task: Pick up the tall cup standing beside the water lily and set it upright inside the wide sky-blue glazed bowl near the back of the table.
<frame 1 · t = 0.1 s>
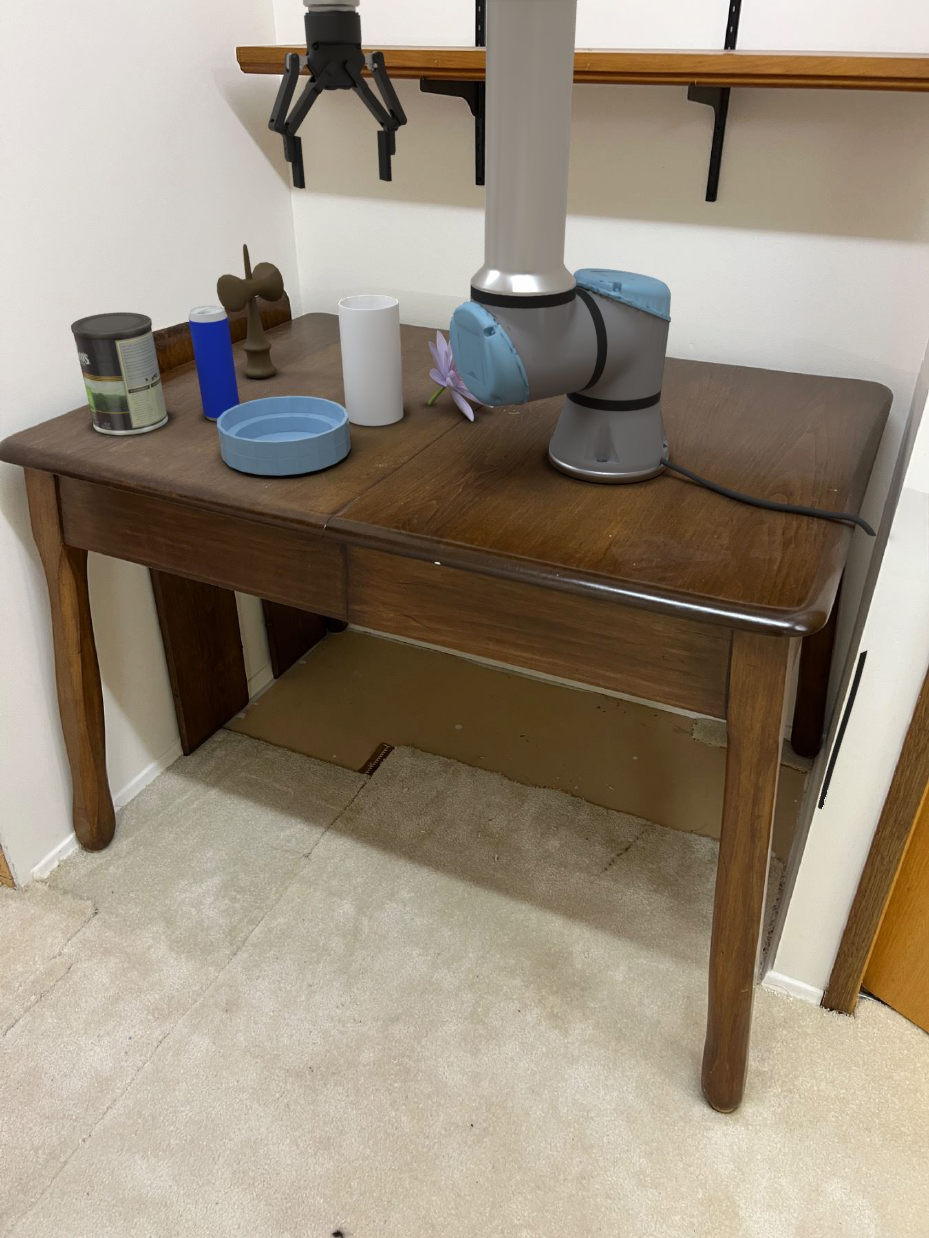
hand: (343, 184, 136), 28 cm above the table, tool pointing down, fingers open, 13 cm apart
beverage can: (223, 417, 135), on the table
coffee can: (132, 424, 133), on the table
water lily: (461, 410, 137), on the table
kendama: (261, 376, 151), on the table
bowl: (287, 454, 123), on the table
cup: (374, 417, 135), on the table
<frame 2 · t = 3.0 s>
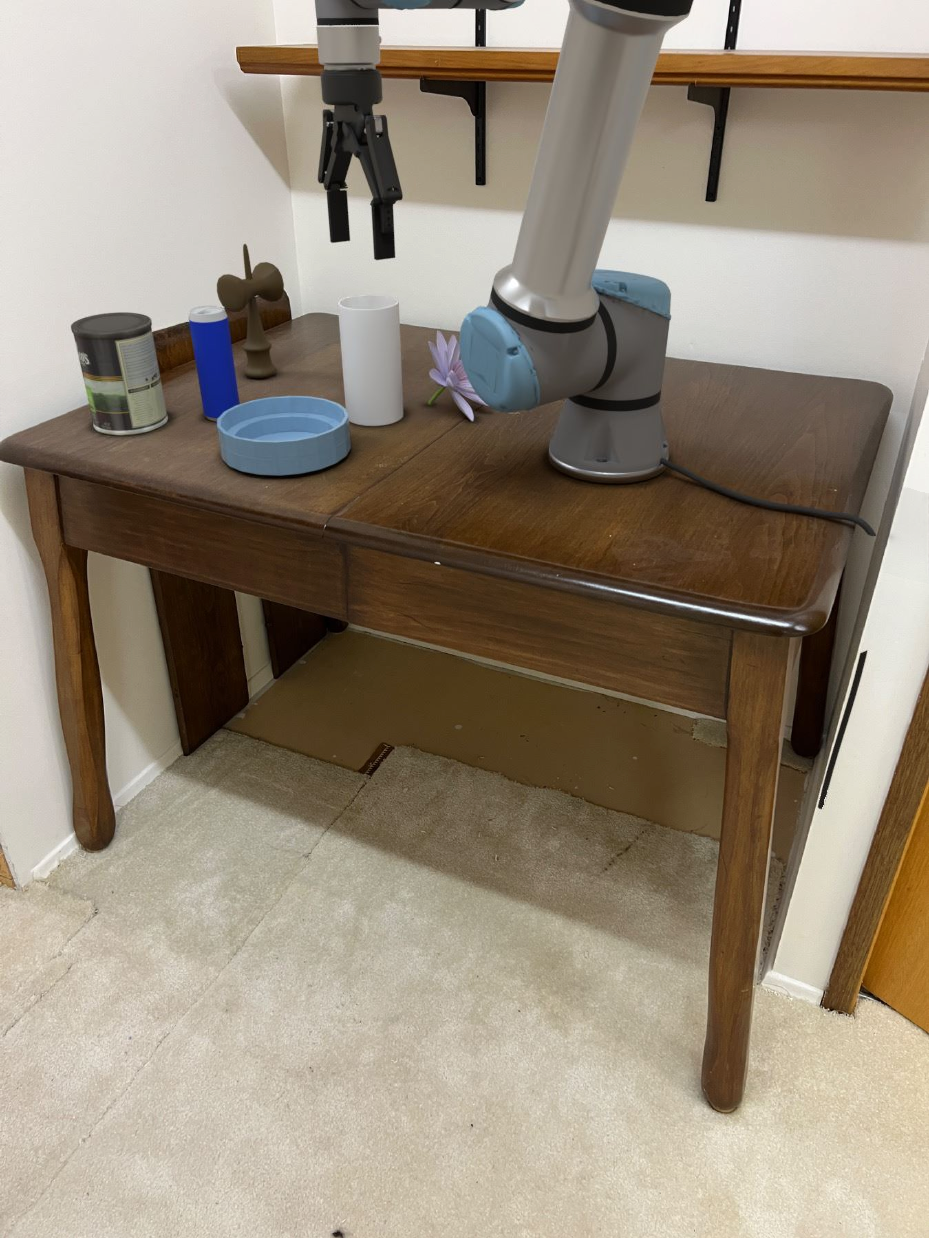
hand: (361, 250, 127), 22 cm above the table, tool pointing down, fingers open, 13 cm apart
nothing on the table moved.
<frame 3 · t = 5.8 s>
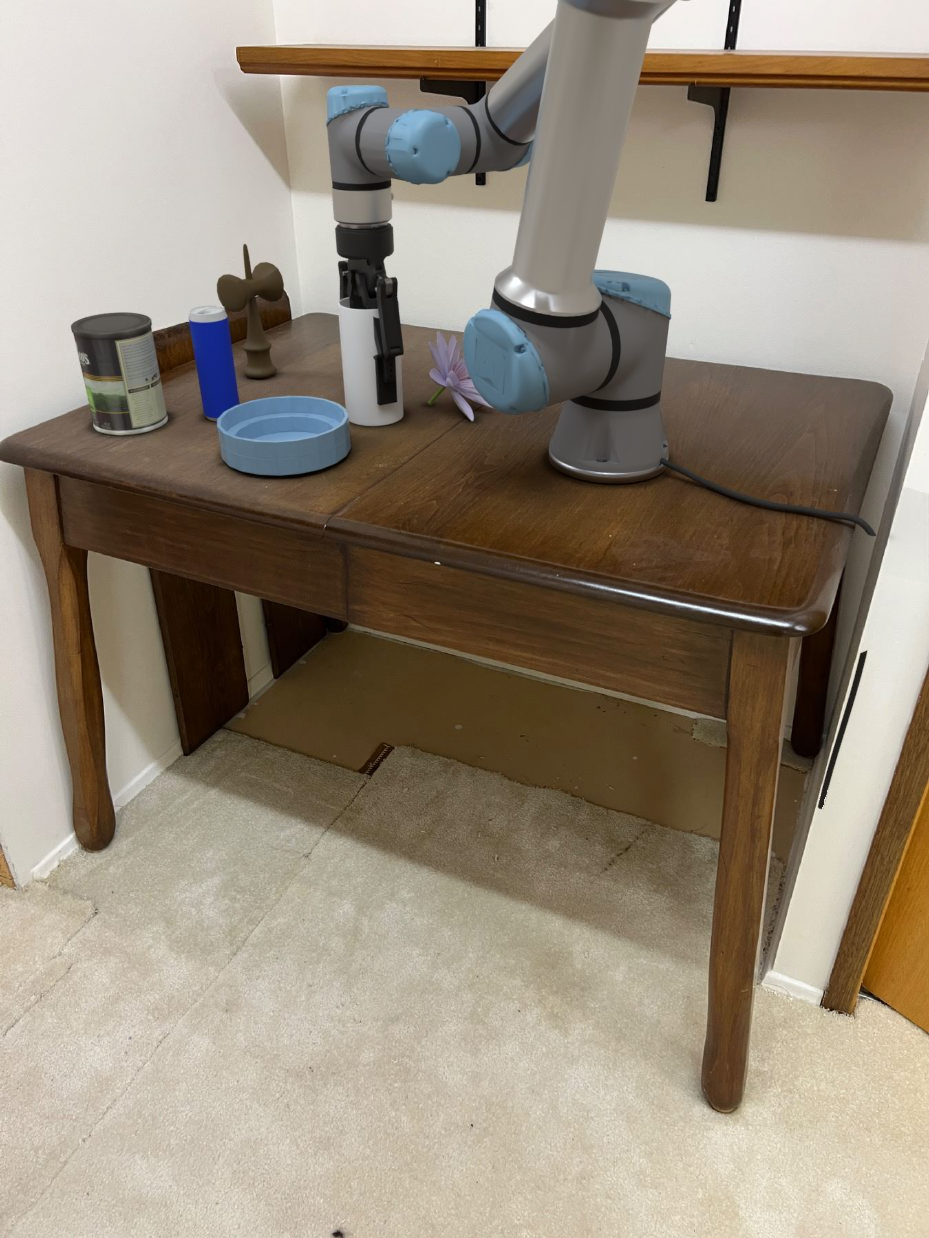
hand: (373, 393, 133), 3 cm above the table, tool pointing down, fingers closed on cup, 8 cm apart
cup: (375, 417, 135), on the table, touching gripper
everything else where it was.
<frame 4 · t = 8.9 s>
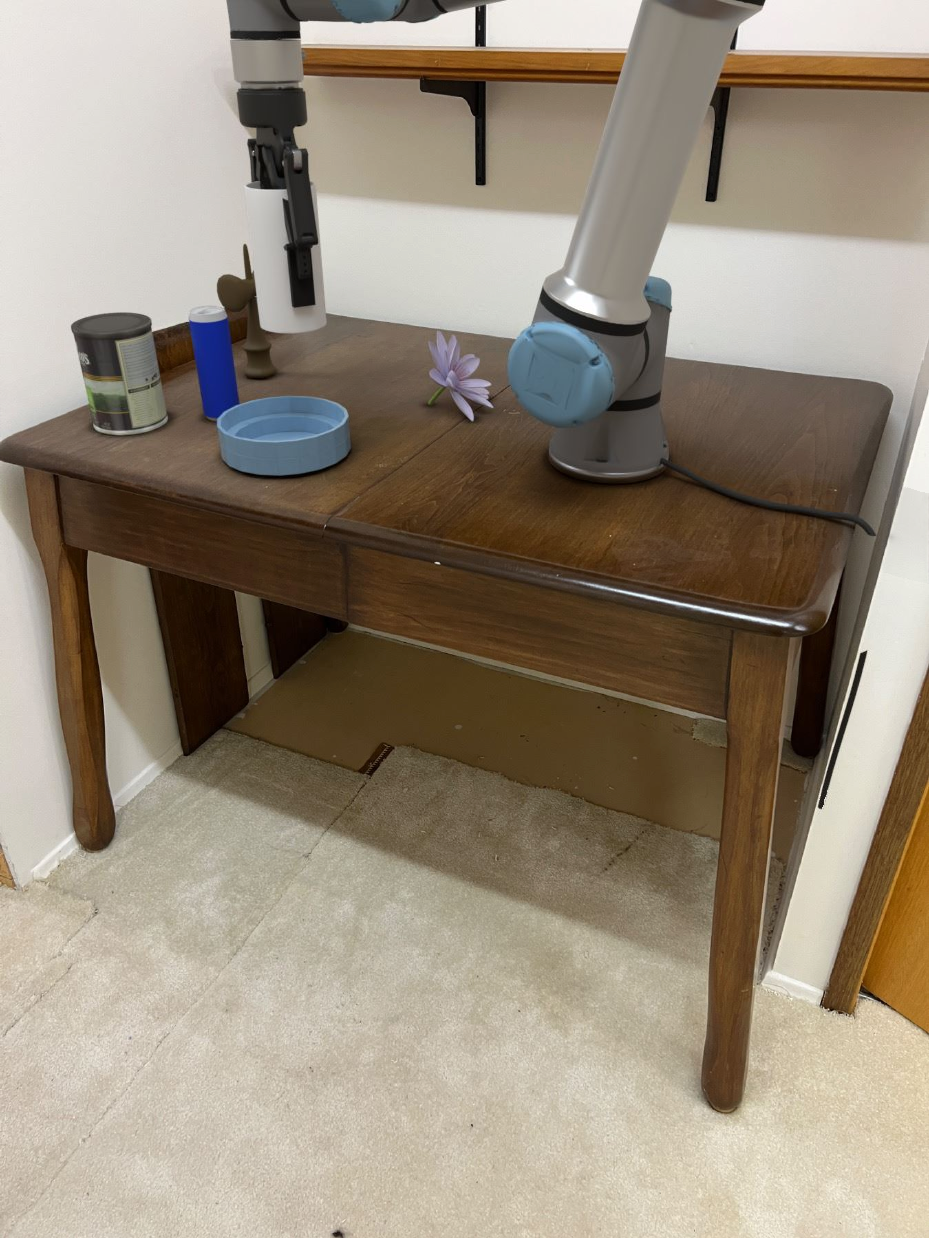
hand: (290, 297, 115), 19 cm above the table, tool pointing down, fingers closed on cup, 8 cm apart
cup: (293, 326, 117), point 16 cm above the table, touching gripper
everything else where it was.
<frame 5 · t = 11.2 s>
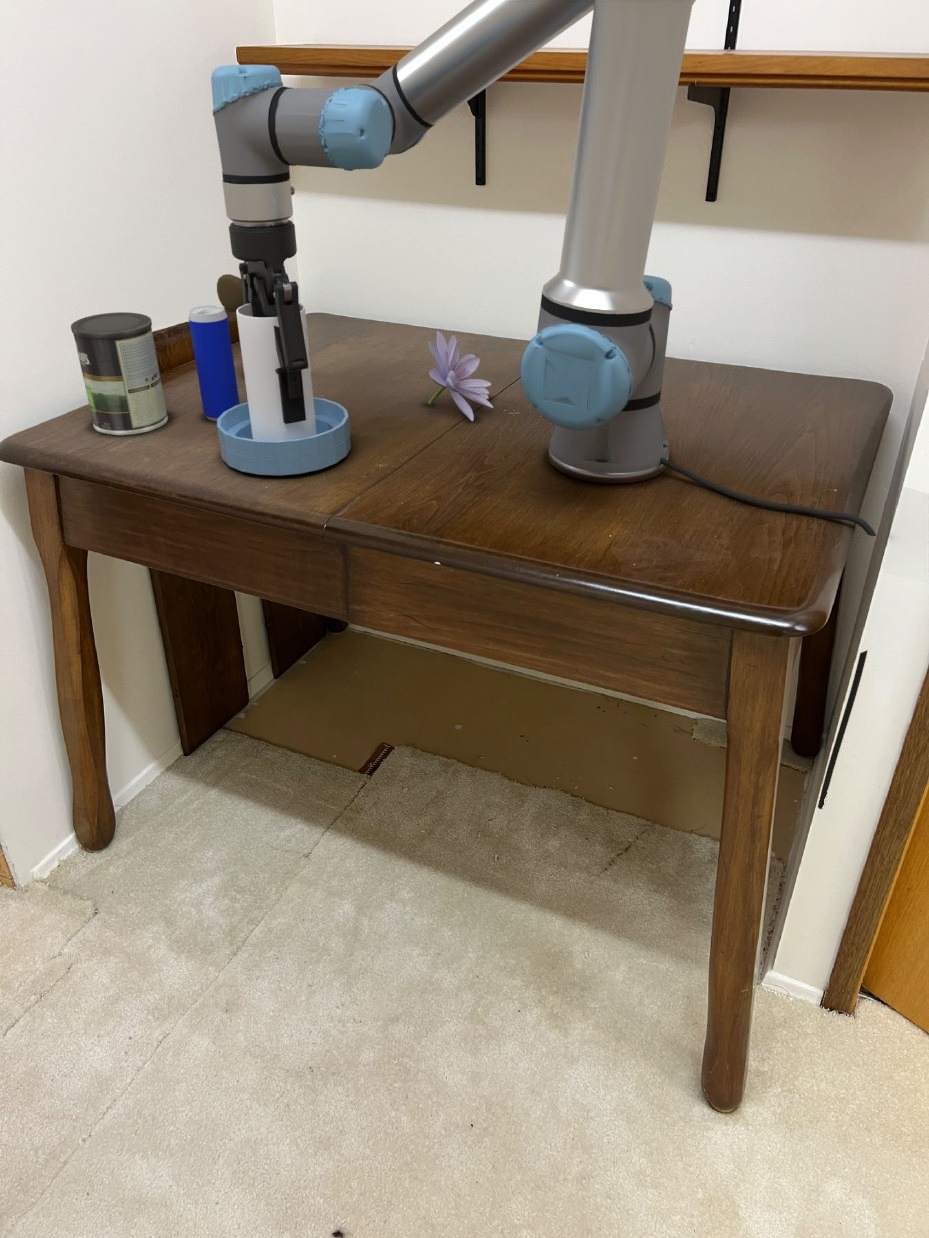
hand: (282, 410, 120), 6 cm above the table, tool pointing down, fingers closed on cup, 8 cm apart
cup: (284, 436, 122), point 2 cm above the table, touching gripper
everything else where it was.
when the fingers open (4 cm above the table, at t = 12.4 s): cup stays where it is, resting on bowl.
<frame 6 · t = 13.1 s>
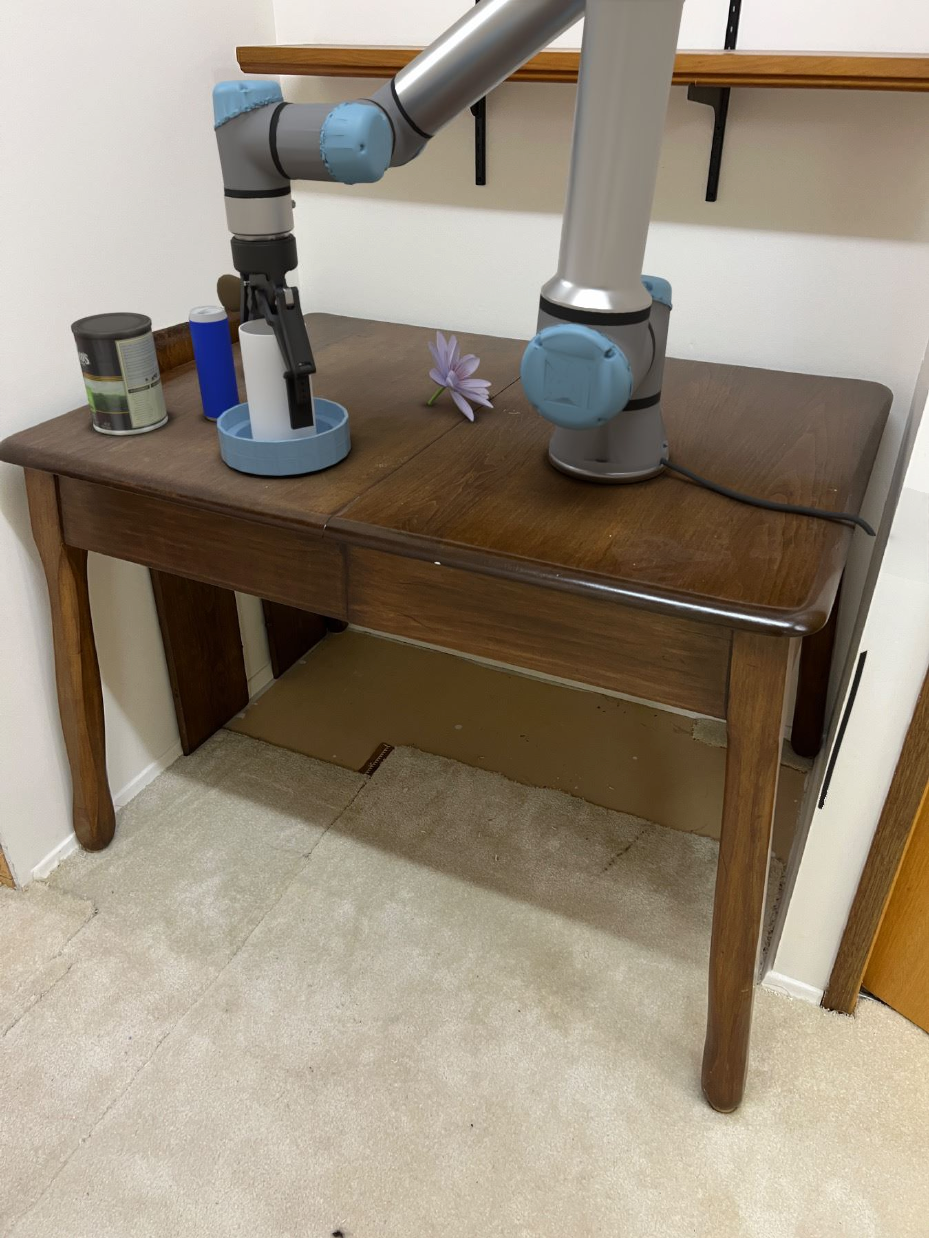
hand: (282, 410, 120), 6 cm above the table, tool pointing down, fingers open, 13 cm apart
cup: (286, 451, 123), resting on bowl
everything else where it was.
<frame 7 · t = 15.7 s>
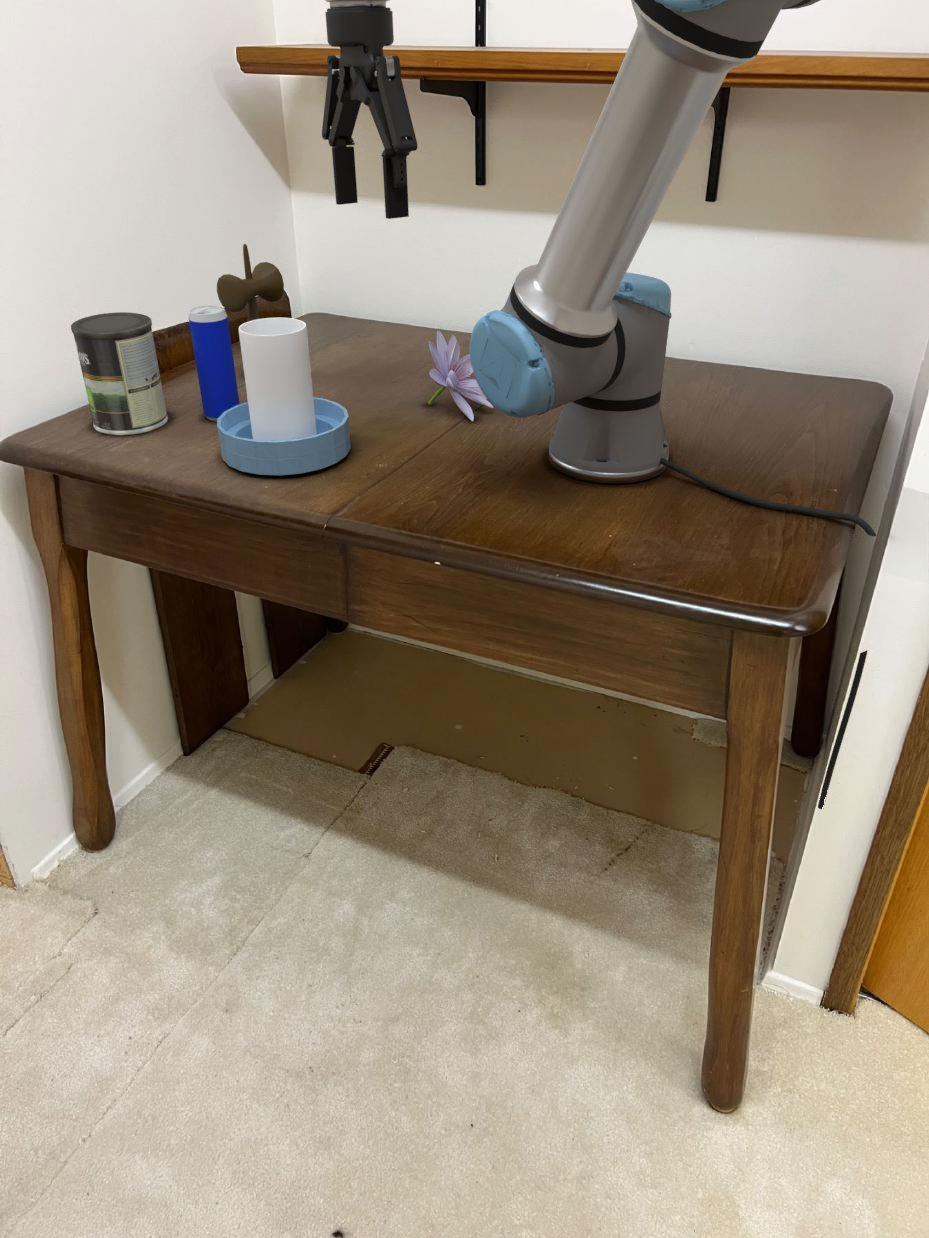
hand: (371, 210, 116), 28 cm above the table, tool pointing down, fingers open, 13 cm apart
nothing on the table moved.
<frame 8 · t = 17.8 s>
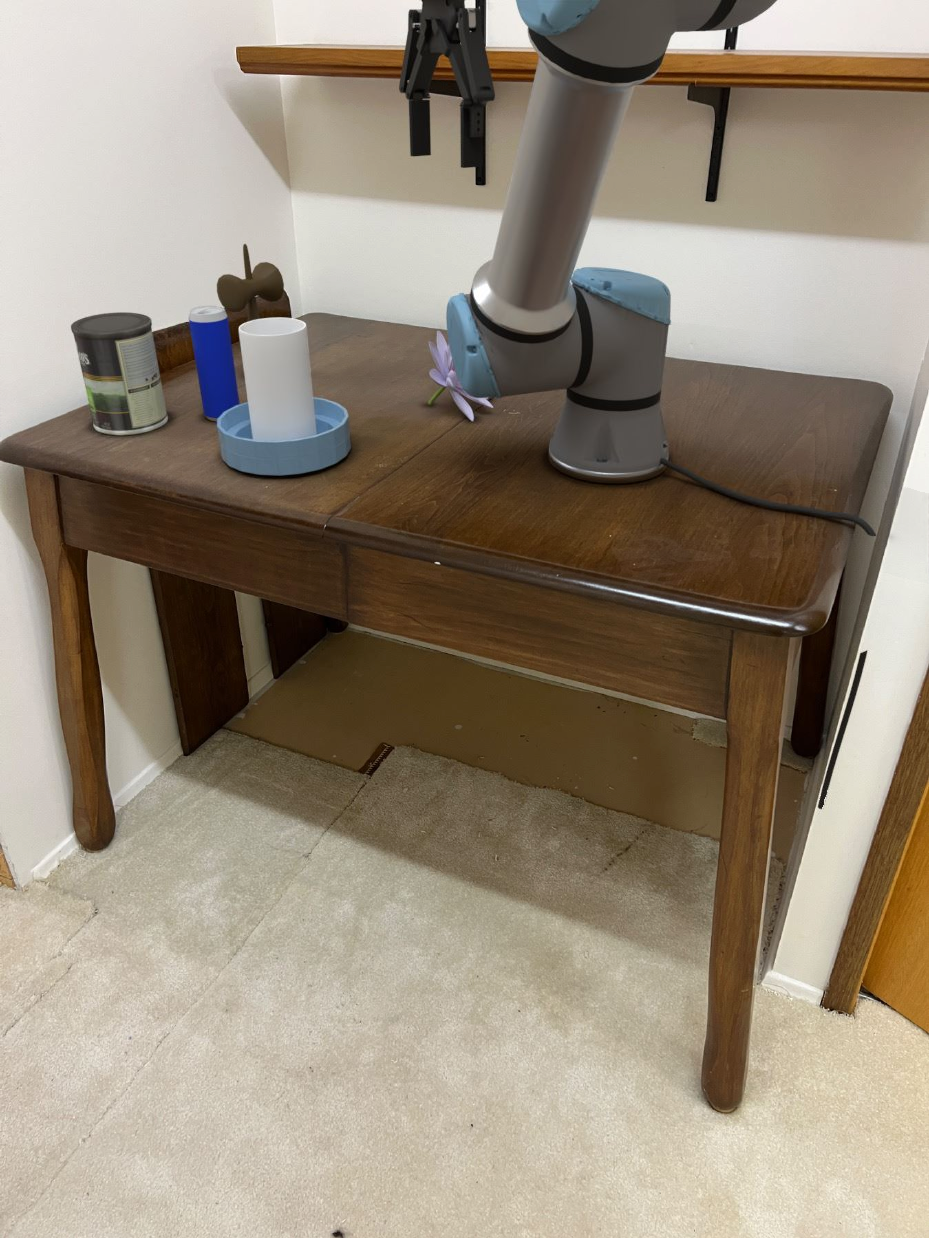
hand: (445, 161, 121), 33 cm above the table, tool pointing down, fingers open, 13 cm apart
nothing on the table moved.
at the end: cup 0.0 cm off-centre in the bowl, point 0.4 cm above the bowl's base; cup tilted 0°; the gripper is holding nothing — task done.
